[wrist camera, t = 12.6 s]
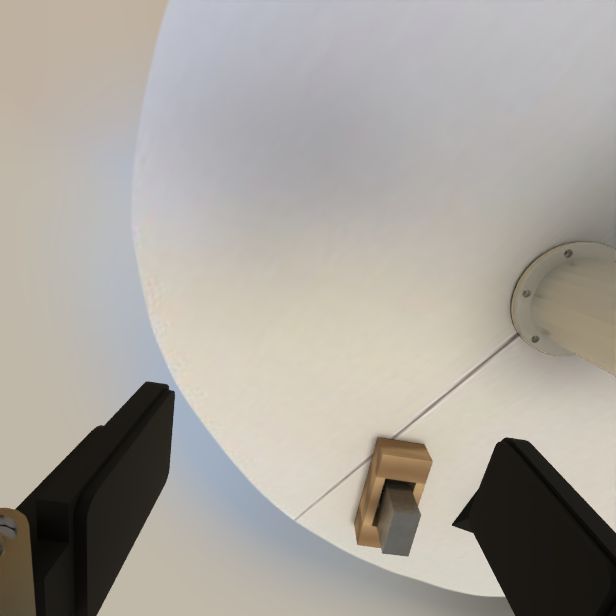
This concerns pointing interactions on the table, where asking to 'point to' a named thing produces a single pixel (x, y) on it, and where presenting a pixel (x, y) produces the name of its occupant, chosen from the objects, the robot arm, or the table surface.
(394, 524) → the clip
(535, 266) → the robot arm
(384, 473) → the slotted wooden block
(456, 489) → the table surface
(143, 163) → the table surface
